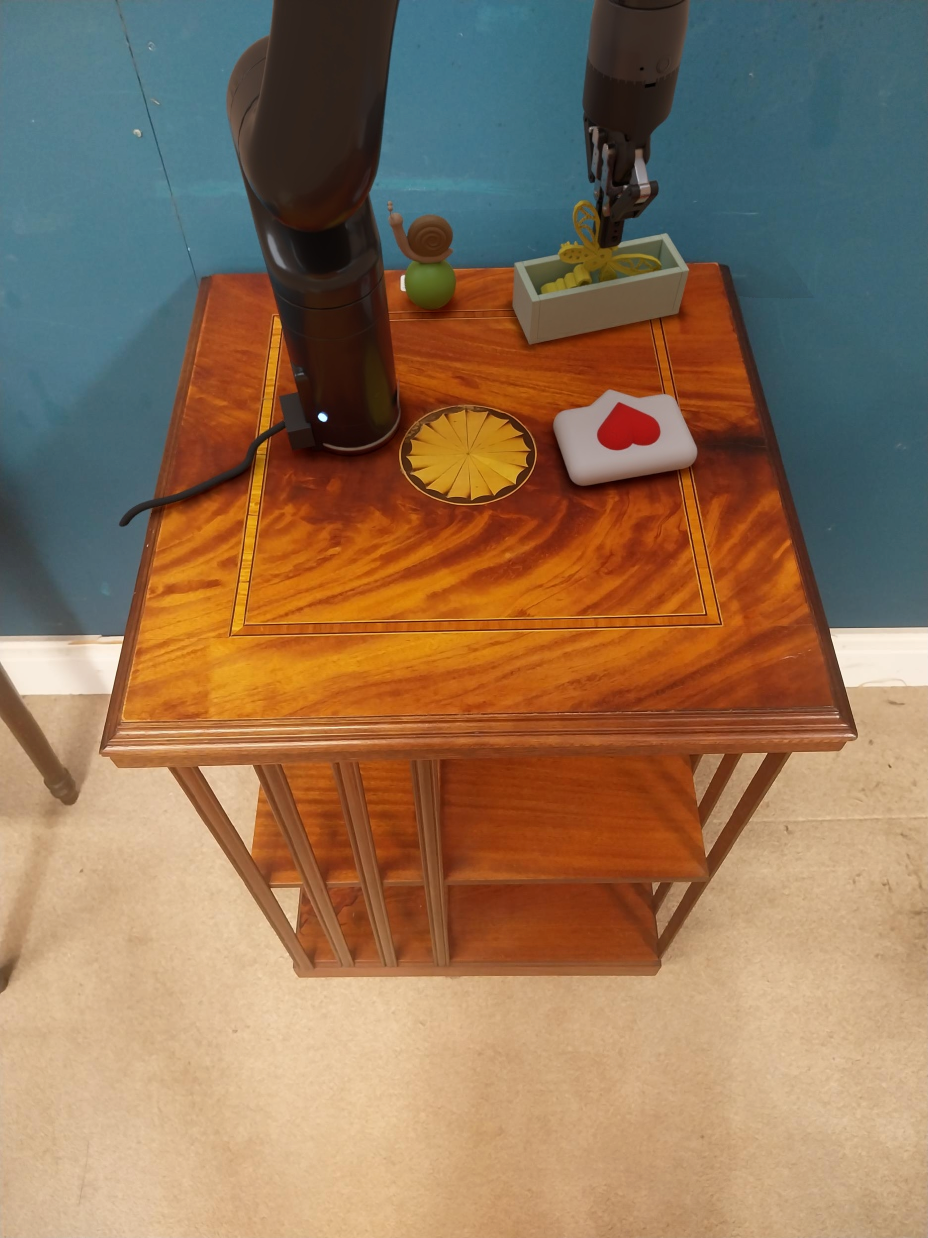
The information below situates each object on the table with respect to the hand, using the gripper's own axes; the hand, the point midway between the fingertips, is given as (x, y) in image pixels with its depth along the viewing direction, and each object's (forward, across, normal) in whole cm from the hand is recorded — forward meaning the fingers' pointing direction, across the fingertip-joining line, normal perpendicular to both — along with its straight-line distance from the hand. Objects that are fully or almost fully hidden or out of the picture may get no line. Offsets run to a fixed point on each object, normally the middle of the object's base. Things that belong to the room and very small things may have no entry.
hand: (606, 240), depth 83 cm
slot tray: (+9, 0, 0) cm, 9 cm away
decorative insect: (+6, +1, 0) cm, 6 cm away
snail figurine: (+9, -6, -17) cm, 20 cm away
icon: (+9, +18, -4) cm, 20 cm away
